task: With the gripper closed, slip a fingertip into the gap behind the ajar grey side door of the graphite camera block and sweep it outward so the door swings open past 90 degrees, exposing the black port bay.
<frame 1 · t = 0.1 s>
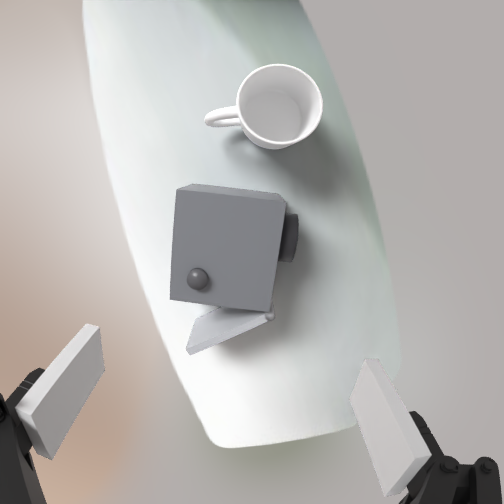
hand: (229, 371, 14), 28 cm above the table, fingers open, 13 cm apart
side door: (231, 320, 40), point 4 cm above the table, hinge at 35.0°
camera body: (229, 234, 41), on the table
cup: (258, 120, 37), on the table
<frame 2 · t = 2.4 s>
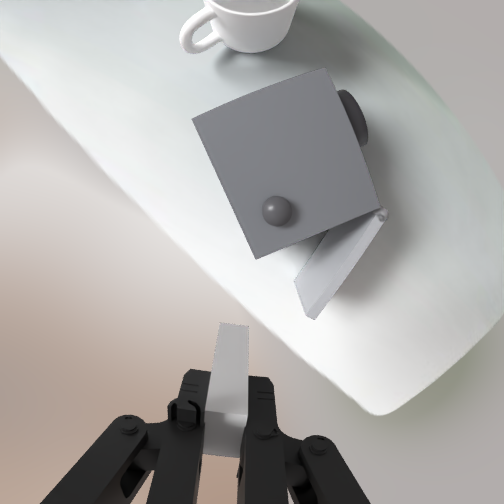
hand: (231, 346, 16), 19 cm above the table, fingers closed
side door: (338, 252, 30), point 4 cm above the table, hinge at 35.0°
camera body: (279, 160, 31), on the table
cup: (237, 32, 27), on the table
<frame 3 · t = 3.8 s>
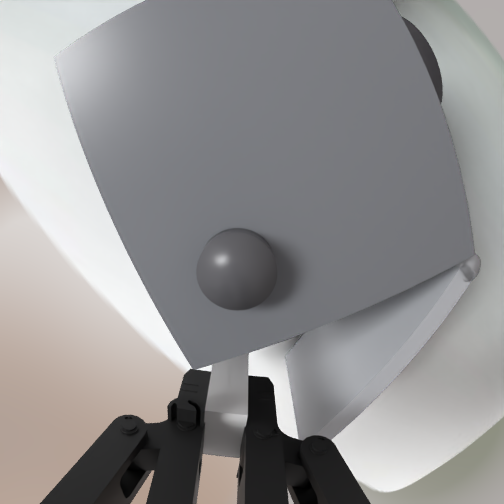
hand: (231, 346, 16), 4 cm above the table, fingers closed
side door: (367, 325, 15), point 4 cm above the table, hinge at 35.0°
camera body: (264, 148, 17), on the table
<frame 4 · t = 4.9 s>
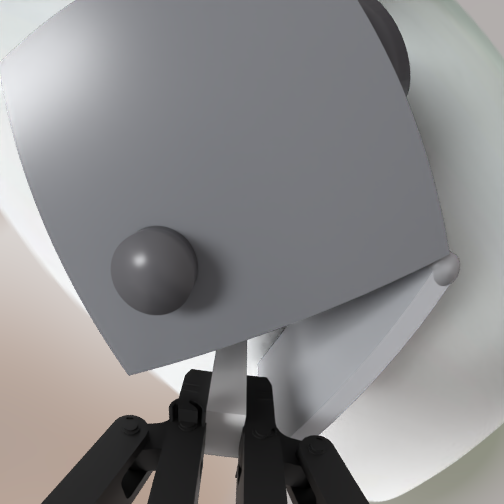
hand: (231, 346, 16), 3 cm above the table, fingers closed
side door: (337, 334, 14), point 4 cm above the table, hinge at 35.6°, touching gripper
camera body: (226, 143, 16), on the table
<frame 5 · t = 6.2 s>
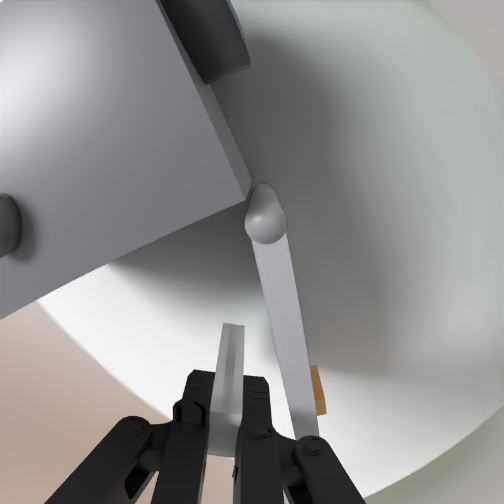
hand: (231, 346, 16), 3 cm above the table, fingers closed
side door: (292, 316, 14), point 4 cm above the table, hinge at 79.2°, touching gripper
camera body: (122, 127, 16), on the table
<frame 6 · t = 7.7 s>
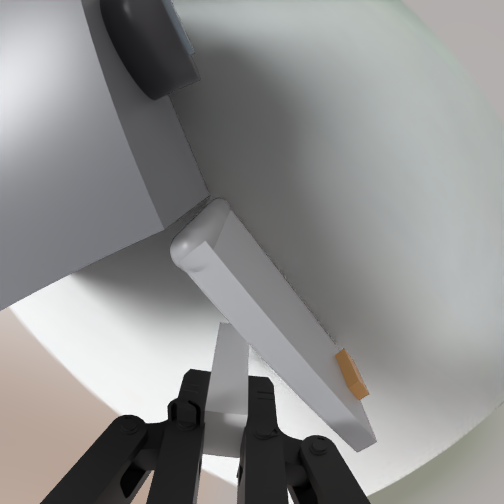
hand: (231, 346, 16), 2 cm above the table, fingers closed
side door: (290, 315, 13), point 4 cm above the table, hinge at 105.2°
camera body: (85, 140, 15), on the table
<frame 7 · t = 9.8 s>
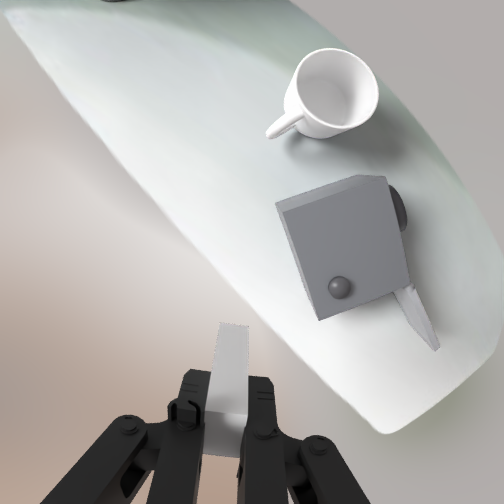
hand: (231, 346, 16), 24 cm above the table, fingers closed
side door: (412, 305, 37), point 4 cm above the table, hinge at 105.3°
camera body: (331, 233, 39), on the table
cup: (304, 115, 35), on the table
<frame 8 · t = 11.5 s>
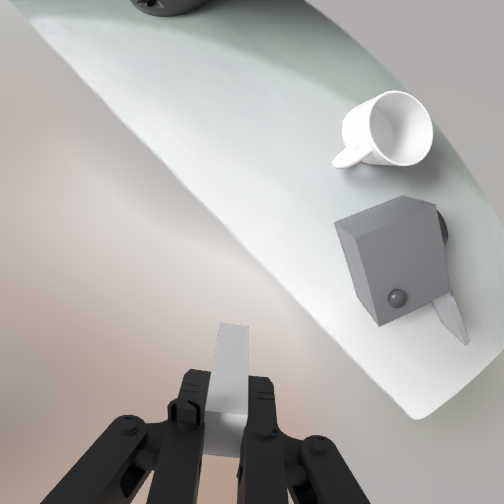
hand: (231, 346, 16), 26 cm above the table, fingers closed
side door: (446, 307, 40), point 4 cm above the table, hinge at 105.3°
camera body: (380, 247, 42), on the table
cup: (358, 141, 38), on the table
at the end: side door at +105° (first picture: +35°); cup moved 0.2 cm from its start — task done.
